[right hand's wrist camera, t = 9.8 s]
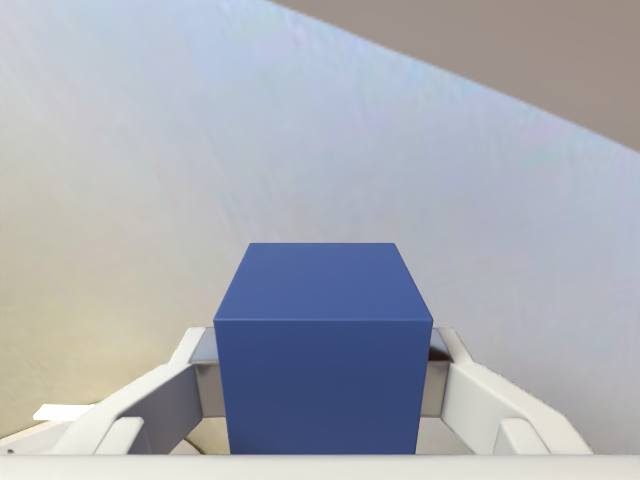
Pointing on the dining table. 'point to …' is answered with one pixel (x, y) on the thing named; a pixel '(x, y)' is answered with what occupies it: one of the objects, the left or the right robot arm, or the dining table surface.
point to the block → (322, 350)
